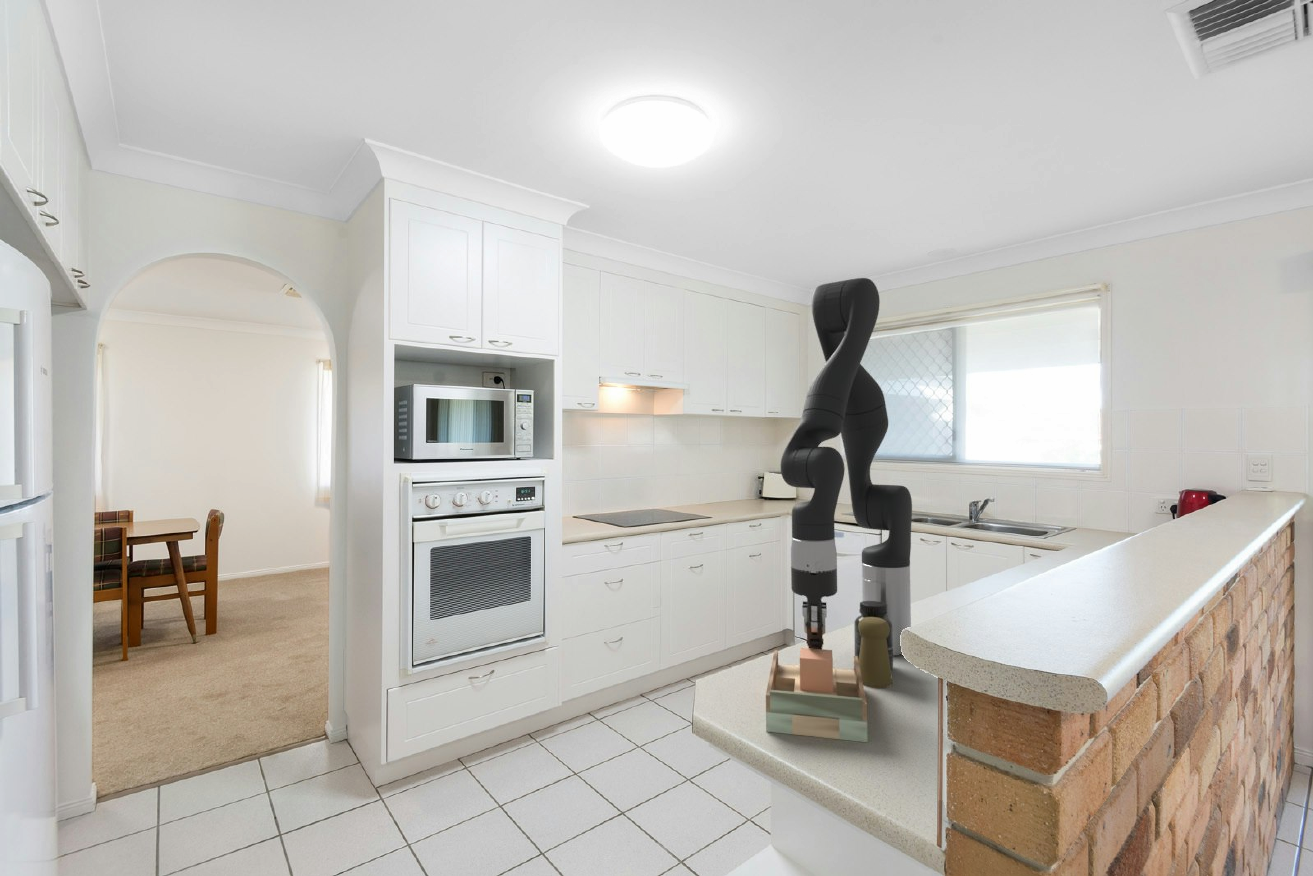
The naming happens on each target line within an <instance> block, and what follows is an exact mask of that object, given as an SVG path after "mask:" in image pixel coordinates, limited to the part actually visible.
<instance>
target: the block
mask: <svg viewBox="0 0 1313 876" xmlns="http://www.w3.org/2000/svg"><path fill="white" fill-rule="evenodd" d="M799 652H800V653H799V665H800V690H809V691H819V692H830V693H833V668H834V666H833V665H834V662H833V649H824V648H822V649H810V648H809V647H800V651H799Z"/></svg>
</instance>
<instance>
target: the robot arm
mask: <svg viewBox="0 0 1313 876" xmlns="http://www.w3.org/2000/svg"><path fill="white" fill-rule="evenodd" d="M880 303H881V301H880V293H879V291H878V288H877V285H876V284H875V283H874V282H873V280H871V279H870V278H866V277H857V278H851V279H845V280H840V281H835V282H828V283H824V284H820V285H818V286H817V287H816V288H815V289H814V291H813V292H812V297H811V314H812V320H813V323H814V324H813V325H814V326H815V330H816V334H817V337H818V341H819V344H820V346H821V350H822V354H823V357H824V361H825V363H824V365H823V366H822V367H821V368H820V370H819V371H817V373H816V374H815V376H814V378H813V380H812V381H811V383H810V385H809V387H808V389H807V390H808V391H807V394H806V398H805V402H804V406H803V411H802V414H801V419H800V421H799V423H798V425H797V426H796V428H795V430H794V432H793V433H792V435H791V437H790V439H789V442H787V445H786V446H785V449H784V451H783V453H782V456H781V459H780V473H781V476H782V479H783V481H784V482H785V483H786V484H787V485H788V486H790V487H792V488H801V489H802V488H803V489H814V490H813V494H812V496H811V499H810V501H803V502H799V503H796V504H795V505H793V506H792V508H791V509H792V510H791V546H790V571H791V572H790V574H791V575H790V576H791V578H790V580H791V583H790V585H791V587H790V588H791V591H792V592H793V594H796V595H798V596H801V597H802V596H804V597H806V600H805V601H804V600H802V606H801V607H802V608H801V609H802V610H801V611H802V616H803V627H804V628H803V630H804V633H805V634H806V644H807V646H808V647H807V648H810V649H823V646H824V638H823V636H824V634H826V618H827V613H828V610H827V602H826V601H824V602H823V601H822V599H823V598H825V597H826V598H828V597H833V596H834V595H836V594H837V593H838V564H837V563H838V557H837V553H838V552H837V546H836V539H835V533H836V532H835V531H836V530H835V513H836V509H837V505H838V500H839V495H840V492H841V488H842V486H843V485H842V484H843V481H844V477H845V470H846V469H845V463H844V459H843V457H842V454H841V453H840V452H839V450H837V449H836V448H834V447H832V446H820V445H821V443H823V442H825V441H829V440H831V439H834V438H837V437H838V436H839V435H840V436H841V440H842V445H843V449H844V455H845V460H846V467H847V475H848V483H849V491H850V501H851V508H852V514H853V517H854V519H855V520H854V521H855V522H856V523H857V525H858V526H859V527H861V528H862V529H863V528H864V529H868V530H877V531H888V538H887V539H886V540H885V541H882V542H881V543H878V544H873V545H869V546H867V547H864V548H863V549H862V551H861V582H862V583H861V586H862V587H861V591H862V593H861V594H862V598H861V599H862V601H877V602H882V603H885V604H887V613H888V615H886V618H888V619H889V620H890V621H891V622H892V624H893V656H903V655H902V652H901V646H900V635H901V632H902V630H903V629H905V628H907V627H911V628H912V613H911V611H912V606H911V602H912V601H911V600H912V599H911V549H912V519H913V518H912V516H913V504H912V503H913V501H912V496H911V492H910V490H909V489H908V488H907V487H906V486H904V485H897V484H873V481H872V479H871V466H872V464H873V460H874V457H875V455H876V454H877V452H878V450H879V448H880V446H881V444H882V442H883V441H884V439H885V437H886V435H887V432H888V428H889V416H888V411H887V405H886V400H885V395H884V393H883V390H882V388H881V387H880V385H879V383H877V381H876V380H875V378H873V377H874V376H873V377H872V375H871V373H869V372H868V371H867V369H866V368H865V367H864V366H863V365H862V364H861V362H862V359H863V357H864V355H865V352H866V350H867V347H868V345H869V342H870V339H871V336H872V334H873V332H874V329H875V326H876V324H877V320H878V316H879V312H880ZM862 601H861V602H862ZM899 654H901V655H899Z"/></svg>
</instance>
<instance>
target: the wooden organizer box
mask: <svg viewBox="0 0 1313 876" xmlns="http://www.w3.org/2000/svg"><path fill="white" fill-rule="evenodd" d="M864 687H865V686H864V685H863V682H862V677H861V672H860V667H859V661H858V656H855V655H853V670H852V669H840V668H839V669H838V668H835V667H833V693H830V692H819V691H809V690H800V664H796V665H788V664H779V650H778V649H774V652H773V657H772V662H771V666H770V671H769V677H768V681H767V686H766V692H765V720H766V721H765V732H768V733H778V734H785V735H797V736H805V737H813V738H814V737H815V738H816V737H817V738H825V739H833V740H834V739H835V740H843V741H853V742H862V743H863V742H864V743H867V742H868V703H867V702H868V701H867V697H866V693H865V688H864Z"/></svg>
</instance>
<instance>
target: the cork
mask: <svg viewBox="0 0 1313 876" xmlns="http://www.w3.org/2000/svg"><path fill="white" fill-rule="evenodd" d="M858 629H859V633H860V635H861V636H862V638H861V646H860V654H859V667H860V672H861V677H862V682H863V686H864V687H869V688H872V689H873V688H875V689H883V688H884V689H886V688H889V687H890V688H891V686H893V683H894V682H893V677H892V676H893V674H892V671H891V668H890V661H889V654H888V648H887V641H886V638H887V637H888V636H889V632H890V628H889V625H888V623H887V621H885V620H884V619H881V618H877V617H865V618H862V619H861V620H860V622H859V624H858Z"/></svg>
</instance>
